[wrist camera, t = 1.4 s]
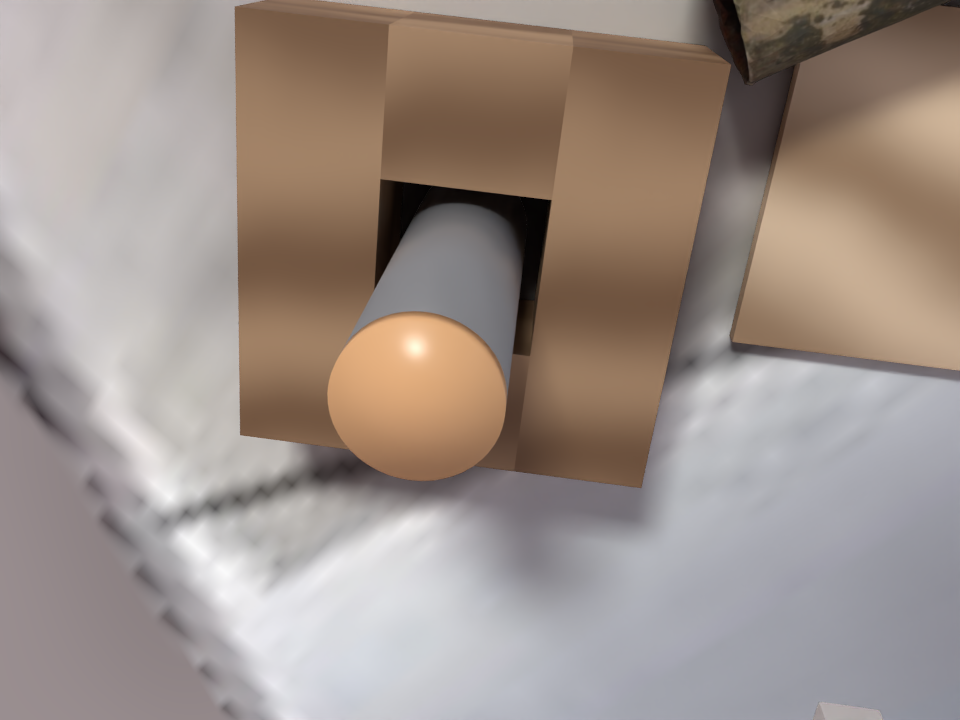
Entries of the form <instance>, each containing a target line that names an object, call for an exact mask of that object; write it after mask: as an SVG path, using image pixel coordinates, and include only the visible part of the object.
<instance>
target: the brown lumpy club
mask: <svg viewBox="0 0 960 720" xmlns="http://www.w3.org/2000/svg"><path fill="white" fill-rule="evenodd" d="M948 1H951V0H713V2H714V5H715V8H716V11H717V14H718V18H719V24H720V29H721V32H722V34H723V37H724V40H725V42H726V45H727V47H728V49H729V50H730V52H731V55H732V58H733V61H734V63H735V65H736V67H737V69H738V71H739V72H740V74H741V76H742V78H743V80H744V83H745V84H746V85H753V84H755V83H756V82H757V81H759V80H761V79H763V78H765V77H768V76H770V75H772V74H775V73H777V72H779V71H782V70H784V69H786V68H789V67H791V66H793V65H796V64H798V63H801V62H803V61H806V60H808V59H810V58H813V57H815V56H818V55H820V54H822V53H825V52H827V51H829V50H832V49H834V48H836V47H839V46H841V45H844V44H846V43H848V42H851V41H853V40H856V39H858V38H861V37H863V36H866V35H868V34H871V33H873V32H876V31H878V30H881V29H883V28H886V27H888V26H891V25H893V24H895V23H898V22H900V21H903V20H905V19H907V18H910V17H912V16H914V15H917V14H919V13H921V12H924V11H926V10H929V9H931V8H934V7H936V6H938V5H941V4H943V3H946V2H948Z"/></svg>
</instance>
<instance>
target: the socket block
mask: <svg viewBox="0 0 960 720" xmlns="http://www.w3.org/2000/svg"><path fill="white" fill-rule="evenodd" d="M235 60H236V138H237V216H238V294H239V372H240V435H243V436H251V437H258V438H266V439H274V440H281V441H289V442H296V443H304V444H311V445H319V446H327V447H334V448H342V449H349V448H348V447H347V446H346V445H345V443H344V442H343V441H342V439H341V438H340V436H339V435H338V433H337V431H336V429H335V427H334V425H333V422H332V419H331V416H330V413H329V407H328V396H327V392H328V383H329V379H330V375H331V372H332V370H333V367H334V365H335V363H336V361H337V359H338V357H339V355H340V354H341V352H342V350H343V348H344V346H345V344H346V342H347V340H348V339H349V337H350V335H351V333H352V331H353V329H354V327H355V325H356V324H357V322H358V320H359V318H360V316H361V314H362V312H363V311H364V309H365V307H366V305H367V303H368V301H369V299H370V297H371V296H372V294H373V292H374V290H375V288H376V286H377V284H378V283H379V281H380V279H381V277H382V275H383V273H384V271H385V269H386V268H387V266H388V264H389V262H390V260H391V258H392V256H393V254H394V253H395V251H396V249H397V247H398V245H399V243H400V230H401V215H402V200H403V185H404V182H408V183H417V184H425V185H433V186H441V187H449V188H457V189H465V190H474V191H482V192H490V193H498V194H506V195H514V196H523V197H531V198H539V199H547V200H548V205H547V212H546V220H545V227H544V234H543V241H542V249H541V256H540V263H539V270H538V278H537V285H536V292H535V299H534V301H533V300H525V299H519V303H518V312H517V320H516V328H515V337H514V345H513V353H512V362H511V370H510V378H509V387H508V395H507V403H506V412H505V418H504V423H503V427H502V430H501V433H500V435H499V437H498V439H497V441H496V443H495V445H494V446H493V447H492V449H491V450H490V451H489V453H488V454H487V455H486V456H485V457H484V458H483V459H482V460H481V461H479V462H478V463H477V464H476V465H474V466H478V467H486V468H493V469H501V470H509V471H516V472H524V473H531V474H539V475H546V476H554V477H562V478H569V479H577V480H584V481H592V482H599V483H607V484H615V485H622V486H630V487H637V488H641V487H642V482H643V477H644V473H645V468H646V463H647V458H648V454H649V449H650V444H651V440H652V435H653V430H654V426H655V421H656V416H657V411H658V407H659V402H660V397H661V393H662V388H663V383H664V379H665V374H666V369H667V364H668V360H669V355H670V350H671V346H672V341H673V336H674V332H675V327H676V322H677V318H678V313H679V308H680V303H681V299H682V294H683V289H684V285H685V280H686V275H687V271H688V266H689V261H690V256H691V252H692V247H693V242H694V238H695V233H696V228H697V224H698V219H699V214H700V209H701V205H702V200H703V195H704V191H705V186H706V181H707V177H708V172H709V167H710V162H711V158H712V153H713V148H714V144H715V139H716V134H717V130H718V125H719V120H720V115H721V111H722V106H723V101H724V97H725V92H726V87H727V83H728V78H729V73H730V68H731V64H729V63H728V62H727V61H725V60H724V59H723V58H721V57H720V56H719V55H717V54H716V53H715V52H713V51H712V50H710V49H709V48H708V47H706V46H703V45H695V44H686V43H678V42H669V41H660V40H652V39H643V38H635V37H626V36H618V35H609V34H600V33H592V32H583V31H575V30H566V29H558V28H549V27H540V26H532V25H523V24H515V23H506V22H498V21H489V20H481V19H472V18H463V17H455V16H446V15H438V14H429V13H421V12H412V11H403V10H395V9H386V8H378V7H369V6H361V5H352V4H343V3H335V2H326V1H318V0H265V1H260V2H255V3H250V4H245V5H240V6H235ZM349 450H350V449H349Z"/></svg>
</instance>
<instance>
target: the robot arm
mask: <svg viewBox="0 0 960 720" xmlns="http://www.w3.org/2000/svg"><path fill="white" fill-rule="evenodd" d="M813 720H883V718H882V716H881V714H880V711H879V710H876V709H869V708H861V707H854V706H847V705H840V704H832V703H825V702H819V703H818V706H817V709H816V712H815V715H814V717H813Z"/></svg>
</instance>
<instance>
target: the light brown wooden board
mask: <svg viewBox="0 0 960 720" xmlns="http://www.w3.org/2000/svg"><path fill="white" fill-rule="evenodd" d="M730 337H731V340H732V342H737V343H745V344H753V345H761V346H769V347H777V348H785V349H793V350H800V351H808V352H816V353H824V354H832V355H840V356H848V357H856V358H864V359H871V360H879V361H887V362H895V363H903V364H911V365H919V366H927V367H935V368H943V369H950V370H958V371H960V7H951V6H942V5H938V6H936V7H934V8H931V9H929V10H926V11H924V12H921V13H919V14H917V15H914V16H912V17H910V18H907V19H905V20H903V21H900V22H898V23H895V24H893V25H891V26H888V27H886V28H883V29H881V30H878V31H876V32H873V33H871V34H868V35H866V36H863V37H861V38H858V39H856V40H853V41H851V42H848V43H846V44H844V45H841V46H839V47H836V48H834V49H832V50H829V51H827V52H825V53H822V54H820V55H818V56H815V57H813V58H810V59H808V60H806V61H803V62H801V63H798V64H796V65H795V68H794V72H793V76H792V80H791V84H790V88H789V93H788V97H787V101H786V105H785V109H784V113H783V117H782V121H781V126H780V130H779V134H778V138H777V142H776V146H775V150H774V155H773V159H772V163H771V167H770V171H769V175H768V179H767V183H766V188H765V192H764V196H763V200H762V204H761V208H760V212H759V217H758V221H757V225H756V229H755V233H754V237H753V241H752V245H751V250H750V254H749V258H748V262H747V266H746V270H745V274H744V279H743V283H742V287H741V291H740V295H739V299H738V303H737V307H736V312H735V316H734V320H733V324H732V328H731V332H730Z"/></svg>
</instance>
